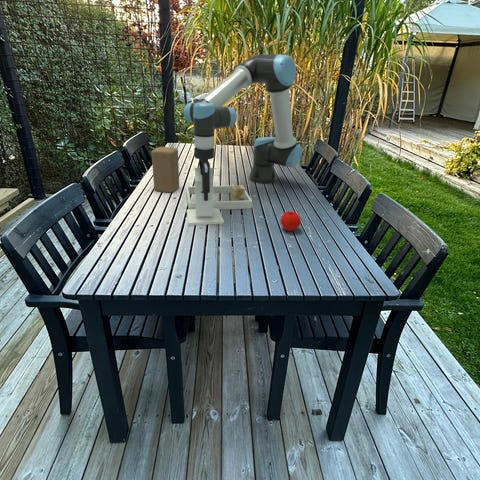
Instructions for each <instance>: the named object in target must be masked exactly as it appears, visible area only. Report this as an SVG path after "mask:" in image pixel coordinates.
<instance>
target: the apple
mask: <svg viewBox="0 0 480 480" xmlns="http://www.w3.org/2000/svg"><path fill="white" fill-rule="evenodd" d="M301 222H302V219H301V217H300V215H299V214H298V213H297V212H296V211H286V212H284V213H283V214H282V216H281V217H280V224H281V226H282V228H284V229H285V231H288V232H294V231H296V230H297V229H298V228H299V227H300V226H301Z"/></svg>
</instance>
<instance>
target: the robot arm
mask: <svg viewBox="0 0 480 480" xmlns="http://www.w3.org/2000/svg"><path fill="white" fill-rule="evenodd" d="M296 76H297V66H296V63H295V61H294V59H293V58H292V57H291V56H290V55H288V54H282V53H281V54H280V53H279V54H267V53H266V54H265V53H264V54H263V53H262V54H261V53H260V54H259V53H258V54H255V55H253V56H250V57H249V58H247V59H246V60H243V61H242V62H241V63H239V64H238V65H237V66H236V67H235V68H234V70H233V72H232V73H231V74H230V75H228V77H226V78H225V79H224V80H223V81H221V82H220V83H219V84H218V85H216V86H215V87H214V88H212V89H211V90H210V91H209V92H208V93H207V94H205V95H204V96H203V97H202V98H200V100H198V101H197V102H195V103H194V102H189V103H186V105H185V106H184V108H183V116H184V119H185V120H186V121H187V122H189V123H191V124H193V138H192V141H194V142H193V143H194V144H193V145H194V148H193V149H194V150H193V152H194V153H193V154H194V158H195V159H198V168H200V173H201V175H202V188H203V191H201V193H202V208H209V193H210V175H209V174H210V168H211V163H210V161H209V160H212V159H214V158H215V148H214V147H215V130H218V129H224V128H225V129H228V128H231V127H233V126H234V125H236V122H237V118H238V114H237V112H236V110H235V108H233V107H231V106H224V105H225V104H226V103H228V102H229V101H230V100H231V99H232V98H234V96H236V95H237V94H238V93H240V91H242V90H243V89H245V88H249V87H250V86H251V85H253V84H263V85H264V86H265V91H266V93H268V94H269V96H270V98H269V99H270V106H271V111H272V118H273V127H274V135H275V137H274V136H264V137H258V138H255V139H254V146H253V160H252V167H251V170H250V172H249V176H248V178H249V179H248V180H250V181H251V182H252V183H253V182H254V183H257V184H273V183H274V182H275V183H276V181H277V174H276V169H275V165H278V166H282V167H285V168H294V167H296V166H297V165H298V163H299V162H300V160H301V158H302V154H303V147H302V146H301V145H300V144H298V142H297V138H296V137H295V136H294V130H293V122H292V121H293V120H292V111H291V101H290V100H291V99H290V90H291V88H292V85H293V83H294V82H295V81H296ZM202 172H203V173H202Z"/></svg>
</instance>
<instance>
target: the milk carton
mask: <svg viewBox="0 0 480 480" xmlns="http://www.w3.org/2000/svg"><path fill="white" fill-rule="evenodd" d="M202 173H203V172H202ZM209 175H210V193H209V208H202V193H201V191H203V188H202V175H201V173H200V168H199V167H194V186H195V194H194V198H195V199H194V202H195V211H196V216H213V201H214V193H213V186H214V167H213V168H212V167H210V174H209Z"/></svg>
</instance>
